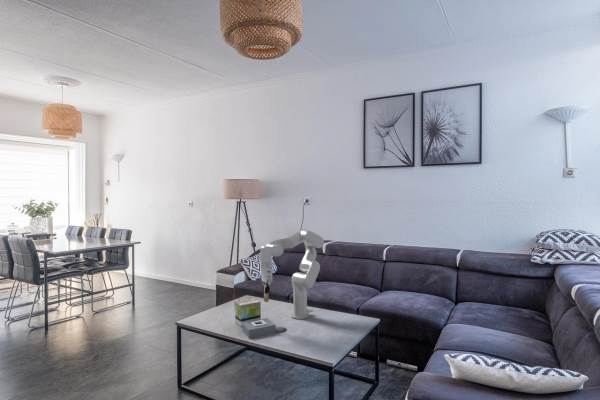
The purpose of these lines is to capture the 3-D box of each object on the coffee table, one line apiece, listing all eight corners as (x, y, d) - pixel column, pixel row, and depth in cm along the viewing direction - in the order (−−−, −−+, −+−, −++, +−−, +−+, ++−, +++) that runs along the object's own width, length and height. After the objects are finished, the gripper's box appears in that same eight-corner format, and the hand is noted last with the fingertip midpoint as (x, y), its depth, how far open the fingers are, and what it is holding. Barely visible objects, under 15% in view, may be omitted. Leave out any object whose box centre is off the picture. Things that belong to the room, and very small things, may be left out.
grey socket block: (267, 325, 241) (267, 317, 241) (275, 332, 229) (275, 323, 229) (242, 330, 233) (241, 322, 233) (248, 338, 221) (248, 329, 221)
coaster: (283, 327, 238) (283, 326, 238) (288, 331, 230) (288, 330, 230) (272, 329, 234) (272, 328, 234) (277, 333, 227) (277, 332, 227)
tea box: (241, 327, 239) (240, 305, 239) (235, 323, 248) (234, 301, 247) (261, 322, 248) (260, 301, 247) (254, 318, 256) (254, 297, 256)
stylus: (267, 300, 238) (267, 282, 238) (269, 301, 236) (269, 283, 236) (263, 301, 237) (263, 282, 237) (264, 302, 234) (264, 283, 234)
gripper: (276, 266, 231) (276, 294, 231) (267, 262, 245) (267, 289, 245) (265, 267, 227) (265, 296, 227) (256, 263, 242) (256, 290, 242)
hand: (266, 292), depth 236 cm, fingers closed on stylus, 3 cm apart
